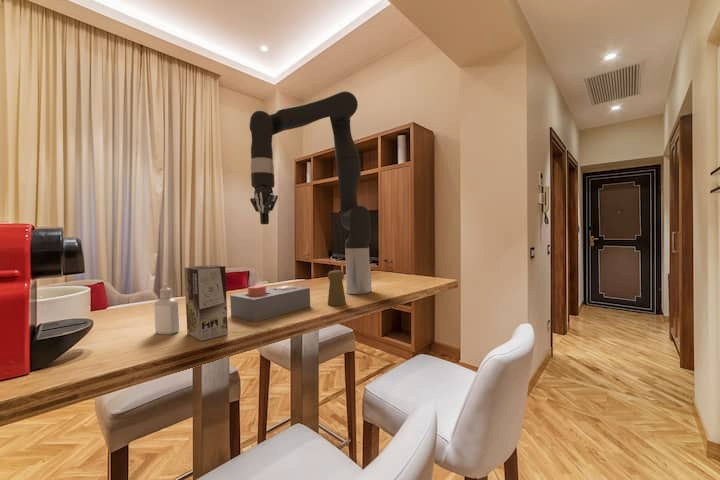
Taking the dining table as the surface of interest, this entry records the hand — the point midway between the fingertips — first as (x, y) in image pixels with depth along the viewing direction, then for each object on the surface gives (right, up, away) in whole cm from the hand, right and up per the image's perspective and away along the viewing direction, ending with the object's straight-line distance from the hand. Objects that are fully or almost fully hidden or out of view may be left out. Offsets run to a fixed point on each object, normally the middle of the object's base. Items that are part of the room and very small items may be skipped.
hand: (264, 224), depth 104 cm
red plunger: (+3, -25, -15) cm, 29 cm away
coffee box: (-4, -28, -31) cm, 42 cm away
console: (+6, -27, -11) cm, 30 cm away
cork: (+25, -27, -4) cm, 37 cm away
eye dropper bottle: (-15, -28, -29) cm, 43 cm away
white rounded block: (+9, -26, -7) cm, 29 cm away
